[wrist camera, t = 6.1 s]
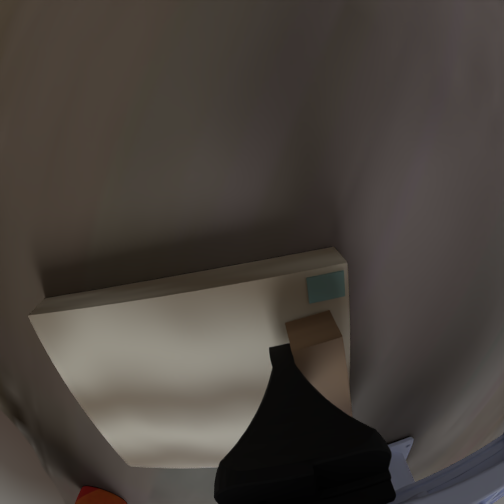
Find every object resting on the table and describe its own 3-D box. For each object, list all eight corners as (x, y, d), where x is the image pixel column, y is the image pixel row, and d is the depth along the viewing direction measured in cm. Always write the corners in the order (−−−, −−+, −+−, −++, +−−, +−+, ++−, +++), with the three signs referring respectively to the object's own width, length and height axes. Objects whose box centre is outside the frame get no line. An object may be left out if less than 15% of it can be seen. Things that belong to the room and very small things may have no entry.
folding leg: (351, 441, 17) (361, 471, 14) (316, 451, 17) (323, 482, 14) (333, 308, 13) (352, 344, 10) (280, 324, 13) (288, 363, 10)
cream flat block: (339, 426, 19) (346, 447, 17) (134, 447, 19) (129, 467, 17) (333, 246, 14) (348, 263, 12) (45, 298, 15) (26, 316, 13)
